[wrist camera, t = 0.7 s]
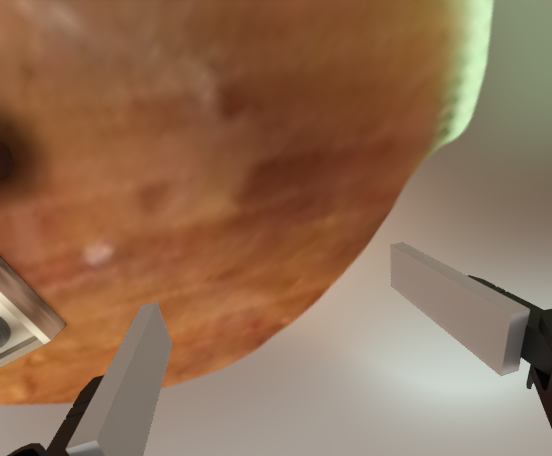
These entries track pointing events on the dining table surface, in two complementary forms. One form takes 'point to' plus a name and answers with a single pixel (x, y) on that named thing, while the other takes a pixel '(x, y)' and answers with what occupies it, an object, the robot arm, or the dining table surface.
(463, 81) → the dining table surface
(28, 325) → the cream rectangular tray
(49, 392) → the dining table surface
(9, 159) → the ice cream bowl
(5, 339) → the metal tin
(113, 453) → the robot arm
